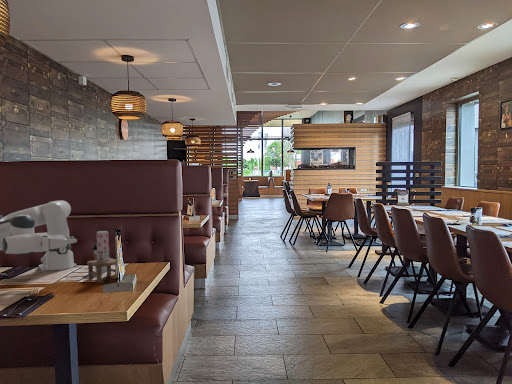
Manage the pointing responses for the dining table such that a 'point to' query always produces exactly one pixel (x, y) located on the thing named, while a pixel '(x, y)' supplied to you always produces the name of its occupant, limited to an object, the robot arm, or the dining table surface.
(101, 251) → the beverage can
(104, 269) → the coffee cup
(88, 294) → the dining table surface
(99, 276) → the stool
